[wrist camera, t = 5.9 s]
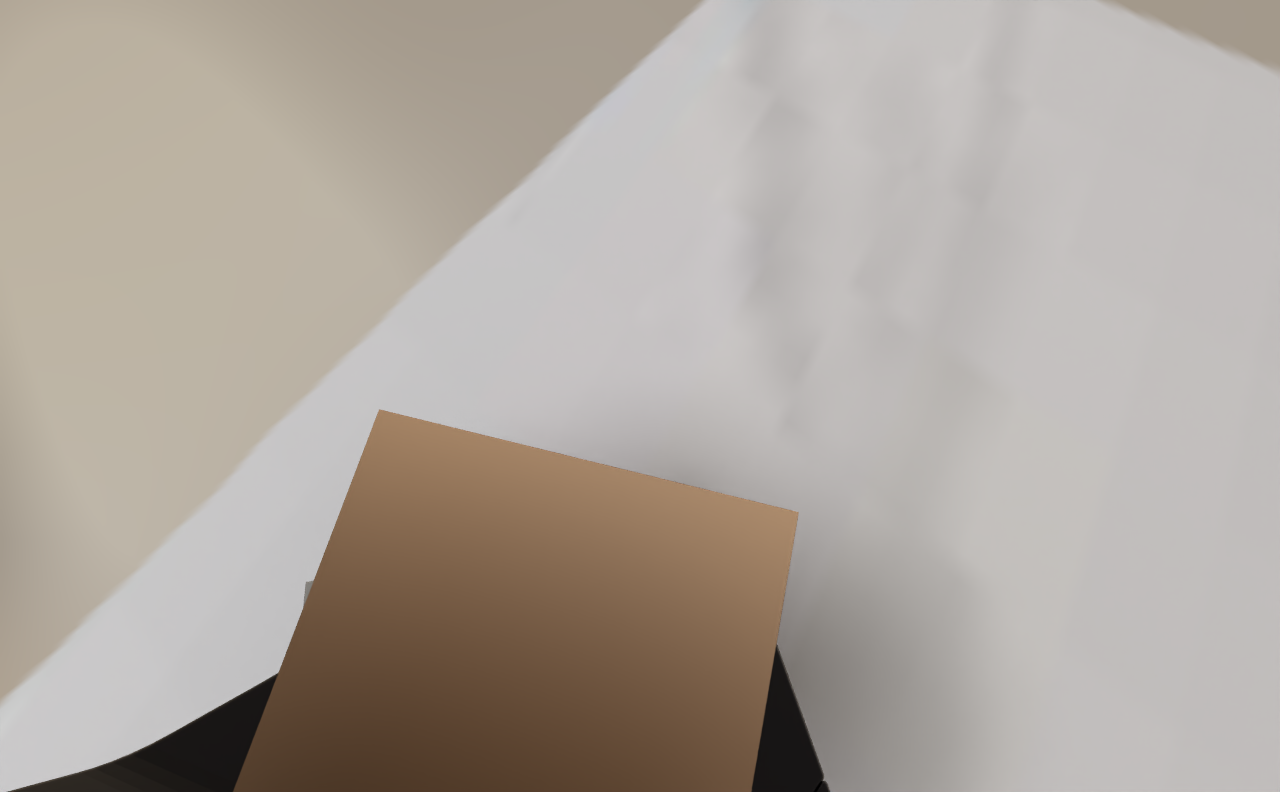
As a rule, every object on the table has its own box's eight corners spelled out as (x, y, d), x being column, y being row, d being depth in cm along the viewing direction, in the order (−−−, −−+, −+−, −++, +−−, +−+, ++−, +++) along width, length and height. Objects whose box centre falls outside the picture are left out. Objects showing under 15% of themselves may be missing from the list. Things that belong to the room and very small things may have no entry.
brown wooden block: (688, 680, 14) (625, 1529, 2) (580, 646, 15) (87, 1172, 3) (721, 517, 15) (799, 512, 3) (620, 491, 16) (378, 408, 4)
